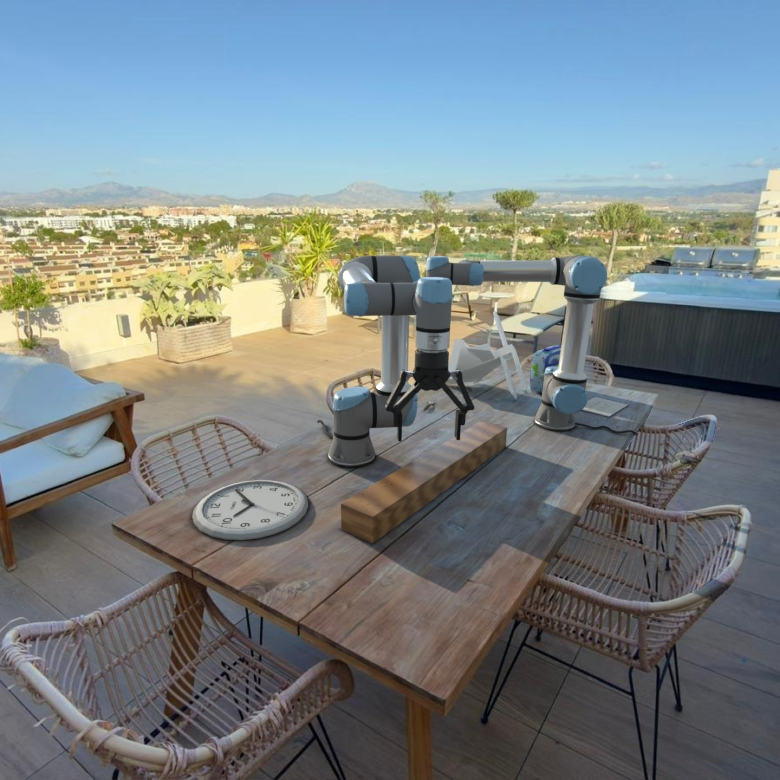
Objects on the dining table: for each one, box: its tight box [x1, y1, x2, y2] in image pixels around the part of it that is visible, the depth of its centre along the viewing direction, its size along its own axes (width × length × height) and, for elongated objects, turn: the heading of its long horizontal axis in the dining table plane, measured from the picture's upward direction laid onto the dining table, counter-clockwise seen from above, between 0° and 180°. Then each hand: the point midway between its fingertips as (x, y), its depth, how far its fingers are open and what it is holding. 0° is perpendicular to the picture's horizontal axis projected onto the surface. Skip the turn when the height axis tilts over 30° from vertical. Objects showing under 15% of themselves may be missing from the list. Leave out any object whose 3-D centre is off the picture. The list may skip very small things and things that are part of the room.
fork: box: [422, 395, 437, 412], centre depth 223 cm, size 3×16×2 cm, turn 160°
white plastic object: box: [446, 310, 531, 400], centre depth 245 cm, size 37×45×31 cm
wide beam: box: [340, 420, 508, 544], centre depth 156 cm, size 75×10×7 cm, turn 143°
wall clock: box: [191, 479, 309, 541], centre depth 140 cm, size 30×2×30 cm
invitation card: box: [581, 396, 629, 418], centre depth 226 cm, size 21×1×15 cm
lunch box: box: [529, 345, 561, 394], centre depth 245 cm, size 26×11×21 cm, turn 134°
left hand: (428, 438), depth 121 cm, fingers open, 13 cm apart
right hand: (433, 360), depth 189 cm, fingers open, 13 cm apart
